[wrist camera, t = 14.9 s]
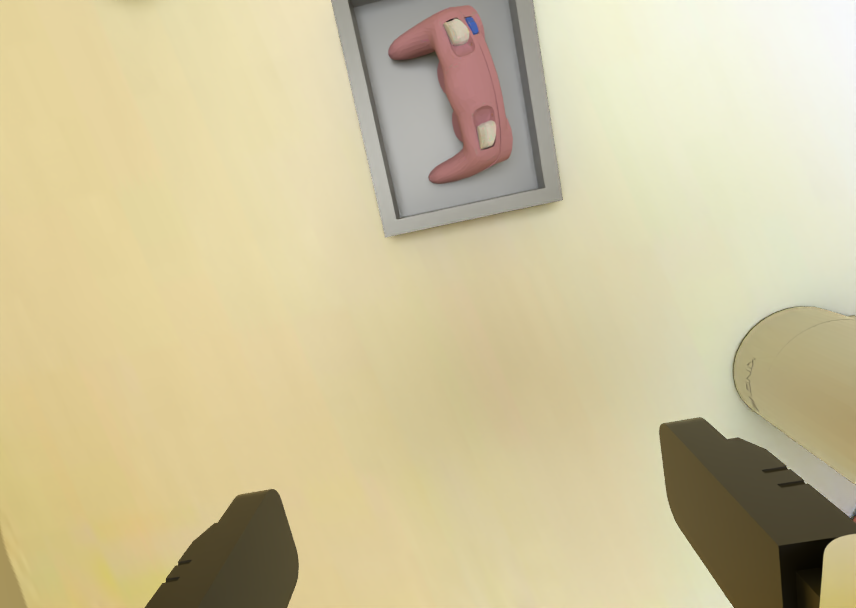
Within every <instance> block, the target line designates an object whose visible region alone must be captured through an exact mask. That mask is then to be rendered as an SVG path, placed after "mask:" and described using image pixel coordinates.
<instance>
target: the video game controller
mask: <svg viewBox="0 0 856 608" xmlns="http://www.w3.org/2000/svg"><path fill="white" fill-rule="evenodd" d="M434 51H435V52H436V54H437V56H438V59H439V63H438V68H437V75H438V81H439V84H440V86H441V88H442V90H443V92H444V93H445V94H446V95H447V98H448V100H449V102H450V104H451V107H452V109H453V114H452V124H453V130H454V132H455V135H456V136H457V138H458V139H459V140H460V141H462V142H463V145H464V146H463V149H462V150H461V151H460V152H459V153H457V154H456V155H455V156H453V157H452V158H450V159H448V160H446V161H445V162H443V163H441V164H439V165H437V166H436V167H435V168H434V169H433V170H432V171H431V172H430V174H429V177H428V178H429V180H430V181H431V182H432V183H436V184H441V183H449V182H454V181H458V180H461V179H464V178H468V177H471V176H473V175H475V174H477V173H479V172H481V171H483V170H485V169H487V168H489V167H491V166H493V165H495V164H497V163H500V162H502V161H505V160H507V159H508V158H509V156H510V154H511V151H512V144H513V136H512V129H511V126H510V124H509V121H508V119H507V117H506V114H505V108H504V102H503V96H502V91H501V87H500V83H499V79H498V75H497V72H496V69H495V66H494V63H493V60H492V56H491V54H490V51H489V49H488V46H487V44H486V42H485V33H484V27H483V24H482V21H481V18H480V16H479V14H478V13H477V11H476V10H475V9H474V8H473V7H472V6H470V5H465V6H457V7H449V8H446V9H444V10H442V11H439V12H437V13H435V14H433V15H432V16H430V17H428V18H426V19H425V20H423V21H422V22H420V23H418V24H417V25H415V26H414V27H412V28H411V29H409V30H408V31H406V32H405V33H403V34H402V35H400V36H399V37H398V38H397V39H395V40H394V41H393V43H392V44H391V45H390V47H389V50H388V55H389V57H390V58H391V59H393V60H406V59H413V58H416V57H419V56H423V55H426V54H429V53H432V52H434Z"/></svg>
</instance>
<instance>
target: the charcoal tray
mask: <svg viewBox="0 0 856 608" xmlns="http://www.w3.org/2000/svg"><path fill="white" fill-rule="evenodd" d="M331 2H332V6H333V11H334V15H335V20H336V24H337V28H338V33H339V37H340V41H341V46H342V50H343V55H344V59H345V63H346V68H347V72H348V76H349V81H350V85H351V90H352V94H353V98H354V103H355V107H356V111H357V116H358V120H359V125H360V129H361V133H362V138H363V142H364V146H365V151H366V155H367V160H368V164H369V168H370V173H371V177H372V181H373V186H374V190H375V195H376V199H377V203H378V208H379V212H380V216H381V221H382V225H383V230H384V234H385V237H390V236H394V235H399V234H404V233H409V232H413V231H418V230H423V229H428V228H432V227H437V226H442V225H447V224H451V223H456V222H461V221H466V220H470V219H475V218H480V217H484V216H489V215H494V214H499V213H503V212H508V211H513V210H518V209H522V208H527V207H532V206H537V205H541V204H546V203H551V202H556V201H560V200H563V197H562V191H561V184H560V177H559V171H558V164H557V158H556V151H555V144H554V138H553V131H552V125H551V118H550V111H549V105H548V98H547V92H546V85H545V78H544V72H543V65H542V59H541V52H540V45H539V39H538V32H537V26H536V19H535V12H534V6H533V0H331ZM465 5H470V6H472V7H473V8H474V9H475V10H476V11H477V13H478V14H479V16H480V18H481V21H482V24H483V27H484V33H485V42H486V44H487V46H488V49H489V51H490V54H491V56H492V60H493V63H494V66H495V69H496V72H497V75H498V79H499V83H500V87H501V91H502V96H503V102H504V108H505V114H506V117H507V119H508V121H509V124H510V126H511V129H512V136H513V144H512V151H511V154H510V156H509V158H508V159H507V160H505V161H502V162H500V163H497V164H495V165H493V166H491V167H489V168H487V169H485V170H483V171H481V172H479V173H477V174H475V175H473V176H471V177H468V178H464V179H461V180H458V181H454V182H449V183H441V184H436V183H432V182H431V181H430V180H429V178H428V177H429V174H430V172H431V171H432V170H433V169H434V168H435V167H436V166H437V165H439V164H441V163H443V162H445V161H446V160H448V159H450V158H452V157H453V156H455V155H456V154H457V153H459V152H460V151H461V150H462V149H463V146H464V145H463V142H462V141H460V140H459V139H458V138H457V136H456V135H455V132H454V130H453V124H452V114H453V109H452V107H451V104H450V102H449V100H448V98H447V95H446V94H445V93H444V92H443V90H442V88H441V86H440V84H439V81H438V75H437V68H438V63H439V59H438V56H437V54H436V52H435V51H434V52H432V53H429V54H426V55H423V56H419V57H416V58H413V59H406V60H393V59H391V58H390V57H389V55H388V50H389V47H390V45H391V44H392V43H393V41H394V40H395V39H397V38H398V37H399V36H400V35H402V34H403V33H405V32H406V31H408V30H409V29H411V28H412V27H414V26H415V25H417V24H418V23H420V22H422V21H423V20H425V19H426V18H428V17H430V16H432V15H433V14H435V13H437V12H439V11H442V10H444V9H446V8H449V7H457V6H465Z"/></svg>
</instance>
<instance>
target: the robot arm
mask: <svg viewBox="0 0 856 608" xmlns="http://www.w3.org/2000/svg"><path fill="white" fill-rule="evenodd" d="M734 380H735V385H736V389H737V391H738V393H739V395H740V397H741V398H742V400H743V401H744V402H745V403H746V404H747V406H748V407H749V408H751V409H752V410H753V411H755V412H756V413H758V414H759V415H760V416H762V417H763V418H764V419H766V420H767V421H768V422H770V423H771V424H772V425H774V426H775V427H777V428H778V429H779V430H781V431H782V432H783V433H784V434H786V435H787V436H788V437H790V438H791V439H793V440H794V441H795V442H797V443H798V444H800V445H801V446H802V447H804V448H805V449H806V450H808V451H809V452H811V453H812V454H813V455H815V456H816V457H817V458H819V459H820V460H822V461H823V462H824V463H826V464H827V465H829V466H830V467H831V468H833V469H834V470H835V471H837V472H838V473H840V474H841V475H842V476H844V477H845V478H846V479H848V480H849V481H851V482H852V483H853V484H855V485H856V316H850V317H848V316H845V315H842V314H838V313H835V312H832V311H829V310H825V309H821V308H817V307H802V306H800V307H794V308H789V309H785V310H782V311H780V312H777V313H774V314H772V315H771V316H769V317H767V318H766V319H764V320H762V321H761V322H760V323H759V324H758V325H756V326H755V327H754V328H753V329H752V330H751V331H750V332H749V334H748V335H747V336H746V337H745V339H744V340H743V342H742V344H741V346H740V348H739V350H738V352H737V355H736V359H735V363H734ZM659 435H660V444H661V452H662V460H663V468H664V476H665V484H666V492H667V498H668V502H669V505H670V508H671V511H672V514H673V516H674V519H675V521H676V523H677V525H678V526H679V528H680V530H681V531H682V532H683V534H684V535H685V537H686V538H687V540H688V541H689V543H690V544H691V546H692V547H693V549H694V550H695V551H696V553H697V554H698V556H699V557H700V559H701V560H702V562H703V563H704V565H705V566H706V568H707V569H708V571H709V572H710V573H711V575H712V576H713V578H714V579H715V581H716V582H717V584H718V585H719V587H720V588H721V590H722V591H723V592H724V594H725V595H726V597H727V598H728V600H729V601H730V603H731V604H732V606H733V607H734V608H856V522H854V521H853V520H852V519H851V518H850V517H848V516H847V515H846V514H845V513H843V512H842V511H841V510H840V509H839V508H837V507H836V506H835V505H834V504H832V503H831V502H830V501H829V500H827V499H826V498H825V497H824V496H823V495H821V494H820V493H819V492H818V491H816V490H815V489H814V488H813V487H812V486H810V485H809V484H805V483H804V480H803V479H802V478H801V477H799V476H798V475H797V474H796V473H794V472H793V471H792V470H791V469H790V470H788V469H787V466H786V465H785V464H783V463H782V462H781V461H780V460H778V459H777V458H776V457H775V456H774V455H772V454H771V453H770V452H769V451H767V450H766V449H764V448H761V447H759V446H757V445H754V444H752V443H750V442H747V441H745V440H743V439H740V438H733V439H726V438H725V437H724V436H723V435H721V434H720V433H719V432H718V431H717V430H716V429H715V428H714V427H713V426H711V425H710V424H709V423H708V422H707V421H706V420H705V419H703V418H701V417H699V418H693V419H687V420H681V421H675V422H669V423H663V424H661V426H660V430H659ZM298 569H299V564H298V554H297V550H296V546H295V543H294V540H293V537H292V533H291V530H290V527H289V523H288V520H287V517H286V514H285V510H284V507H283V504H282V501H281V498H280V496H279V494H278V492H277V491H276V490H274V489H270V490H264V491H258V492H252V493H247V494H241V495H238V496H237V497H236V498H235V499H234V500H233V502H232V503H231V504H230V506H229V507H228V509H227V510H226V512H225V513H224V515H223V516H222V517H221V519H220V520H219V522H218V523H214V524H213V525H212V526H211V527H210V528H208V529H207V530H206V531H205V532H204V533H203V534H201V535H200V536H199V537H198V538H197V539H196V540H194V541H193V542H192V544H191V545H190V546H189V548H188V549H187V550H186V552H185V553H184V555H183V556H182V557H181V559H180V560H179V561H178V566H175V567H174V568H173V570H172V571H171V572H170V574H169V575H168V576H167V578H166V583H162V585H161V586H160V587H159V589H158V590H157V592H156V593H155V594H154V596H153V597H152V598H151V600H150V601H149V602H148V604H147V605H146V607H145V608H287V606H288V604H289V601H290V599H291V596H292V594H293V591H294V588H295V586H296V583H297V578H298Z"/></svg>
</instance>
